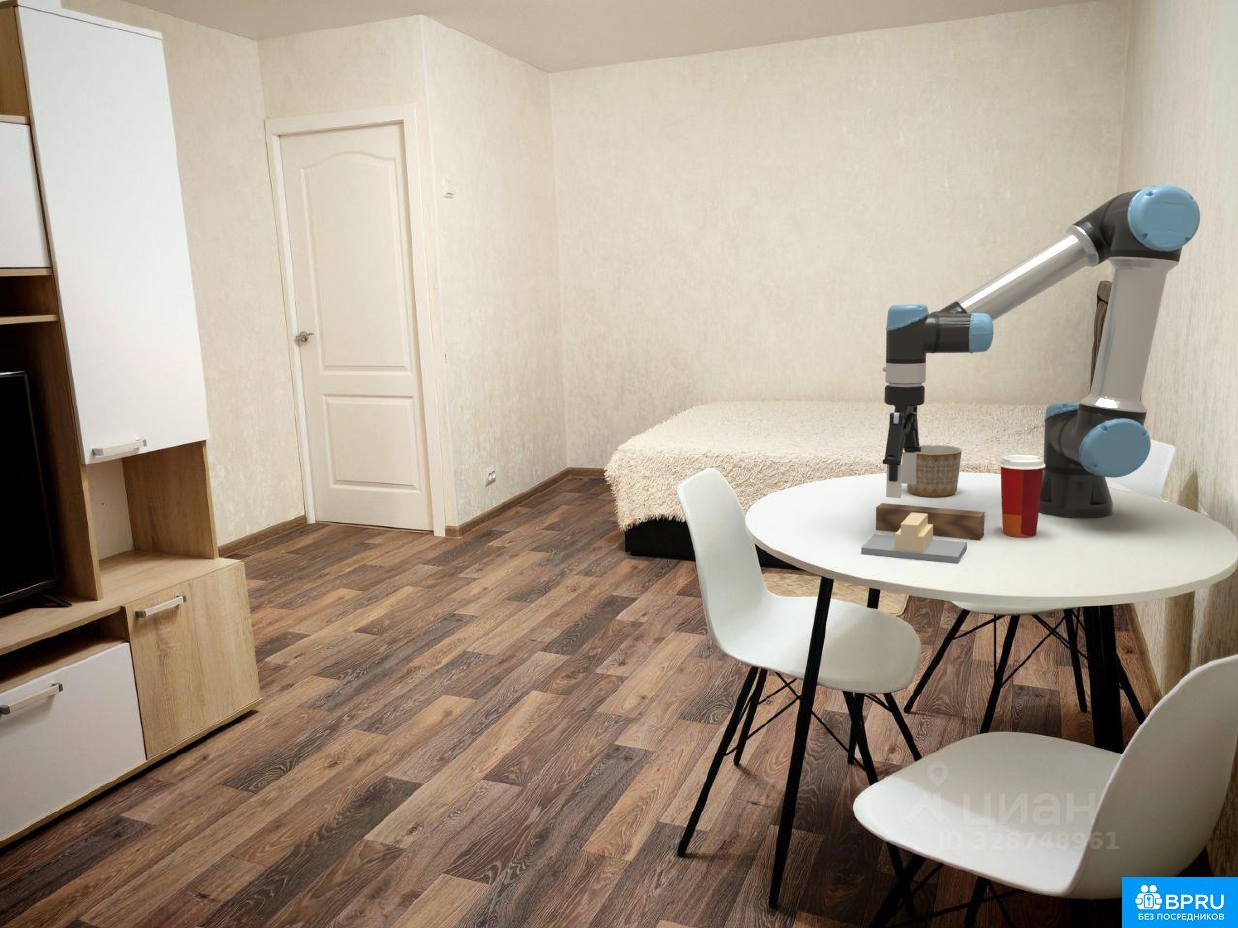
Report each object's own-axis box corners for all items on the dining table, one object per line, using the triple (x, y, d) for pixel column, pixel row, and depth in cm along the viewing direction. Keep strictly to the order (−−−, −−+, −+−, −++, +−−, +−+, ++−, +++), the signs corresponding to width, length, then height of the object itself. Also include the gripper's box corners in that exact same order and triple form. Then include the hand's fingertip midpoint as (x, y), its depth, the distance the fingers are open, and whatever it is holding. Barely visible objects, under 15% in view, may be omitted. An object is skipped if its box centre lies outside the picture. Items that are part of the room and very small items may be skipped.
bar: (983, 536, 176) (984, 511, 175) (979, 541, 172) (980, 516, 171) (881, 526, 186) (881, 502, 185) (875, 531, 183) (876, 507, 182)
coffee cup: (1040, 528, 178) (1043, 454, 175) (1044, 540, 171) (1048, 462, 168) (994, 527, 181) (996, 453, 178) (996, 537, 173) (999, 461, 171)
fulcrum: (966, 548, 167) (967, 516, 166) (957, 563, 159) (958, 529, 158) (874, 539, 176) (874, 509, 175) (861, 553, 167) (861, 521, 166)
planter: (921, 484, 222) (921, 443, 220) (970, 491, 212) (971, 447, 211) (893, 494, 213) (894, 450, 211) (943, 501, 204) (944, 456, 202)
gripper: (899, 378, 189) (896, 477, 193) (869, 390, 167) (866, 501, 171) (936, 378, 185) (932, 479, 189) (911, 391, 164) (907, 505, 168)
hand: (901, 490), depth 180 cm, fingers open, 13 cm apart
